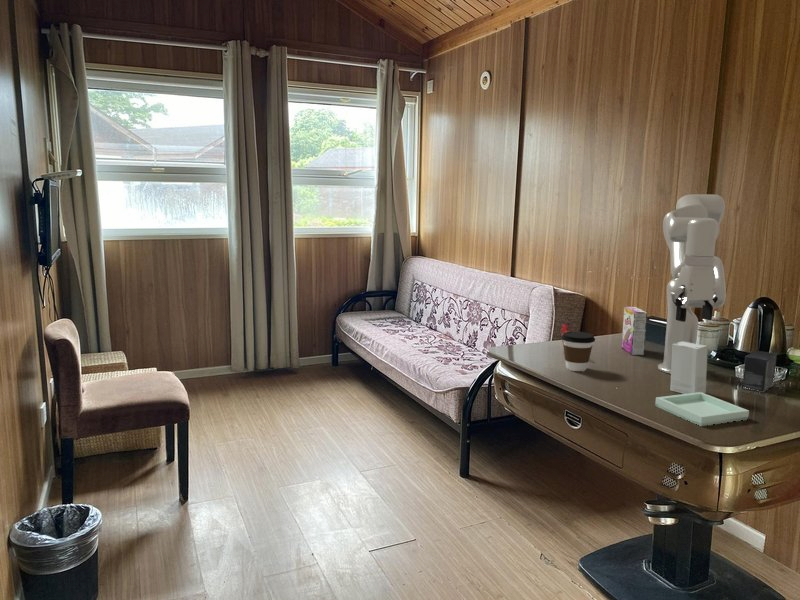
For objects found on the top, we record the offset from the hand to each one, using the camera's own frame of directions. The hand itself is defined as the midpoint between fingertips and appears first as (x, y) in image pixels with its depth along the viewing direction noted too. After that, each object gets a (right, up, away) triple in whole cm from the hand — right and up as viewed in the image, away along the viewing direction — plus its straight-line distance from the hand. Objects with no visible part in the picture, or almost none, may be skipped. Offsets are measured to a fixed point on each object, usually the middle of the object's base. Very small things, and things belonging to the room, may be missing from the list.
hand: (693, 320), depth 176 cm
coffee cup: (-26, -18, +27) cm, 42 cm away
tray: (-5, -25, -13) cm, 28 cm away
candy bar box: (+2, -14, +52) cm, 54 cm away
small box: (+25, -21, +10) cm, 34 cm away
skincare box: (0, -22, +4) cm, 22 cm away
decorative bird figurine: (-23, -14, +47) cm, 55 cm away
